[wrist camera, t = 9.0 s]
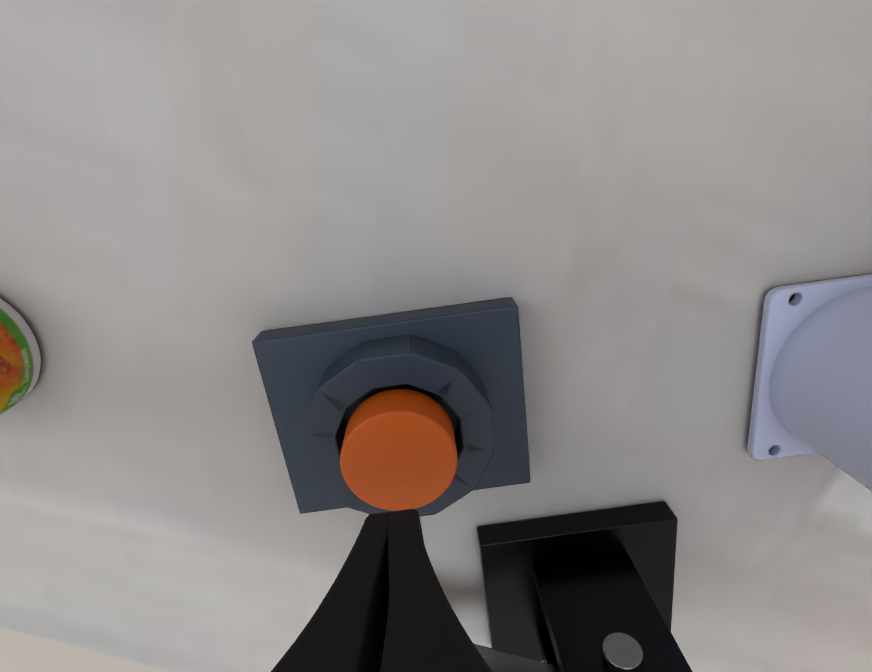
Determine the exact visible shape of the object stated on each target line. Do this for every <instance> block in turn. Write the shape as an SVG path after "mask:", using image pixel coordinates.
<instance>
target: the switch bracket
mask: <svg viewBox="0 0 872 672" xmlns="http://www.w3.org/2000/svg"><path fill="white" fill-rule="evenodd" d="M477 534H478V542H479V550H480V558H481V567H482V575H483V583H484V591H485V599H486V607H487V615H488V623H489V631H490V639H491V647H492V649H496V650H500V651H503V652H507V653H511V654H515V655H519V656H523V657H527V658H531V659H534V660H538V661H544V662H546V663H550V664H554V665H558V666H559V669H560V672H692V670H691V669H690V667H689V665H688V663H687V661H686V659H685V658H684V656H683V654H682V652H681V650H680V648H679V647H678V645H677V643H676V641H675V639H674V637H673V636H672V634H671V619H672V602H673V585H674V568H675V551H676V534H677V517H676V516H675V515H674V513H673V512H672V510H671V509H670V508H669V506H668V505H667V504H666V502H657V503H649V504H642V505H635V506H627V507H620V508H612V509H605V510H598V511H590V512H583V513H576V514H568V515H561V516H554V517H546V518H539V519H532V520H524V521H517V522H510V523H502V524H495V525H488V526H480V527H477Z"/></svg>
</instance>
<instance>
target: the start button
mask: <svg viewBox="0 0 872 672" xmlns="http://www.w3.org/2000/svg"><path fill="white" fill-rule="evenodd" d="M457 463H458V458H457V449H456V443H455V436H454V430H453V425H452V422H451V419H450V417H449V415H448V414H447V412H446V411H445V409H444V408H443V407H442V406H441V405H440V404H439V403H438V402H437V401H435V400H434V399H433V398H431V397H429V396H427V395H425V394H423V393H421V392H417V391H414V390H408V389H392V390H387V391H383V392H380V393H377V394H375V395H373V396H371V397H369V398H368V399H366V400H365V401H363V402H362V403H361V404H360V405H359V406H358V407H357V408H356V409H355V411H354V412H353V413H352V415H351V417H350V419H349V421H348V424H347V428H346V432H345V436H344V440H343V444H342V448H341V454H340V468H341V472H342V475H343V478H344V480H345V482H346V484H347V485H348V487H349V488H350V490H351V491H352V492H353V493H354V494H355V495H356V496H357V497H359V498H360V499H361V500H363V501H364V502H366V503H368V504H370V505H372V506H374V507H377V508H380V509H385V510H391V511H399V510H407V509H416V508H420V507H423V506H425V505H427V504H429V503H431V502H433V501H434V500H436V499H437V498H438V497H440V496H441V495H442V494H443V493H444V492H445V491H446V489H447V488H448V487H449V486H450V484H451V482H452V480H453V478H454V476H455V474H456V470H457Z"/></svg>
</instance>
